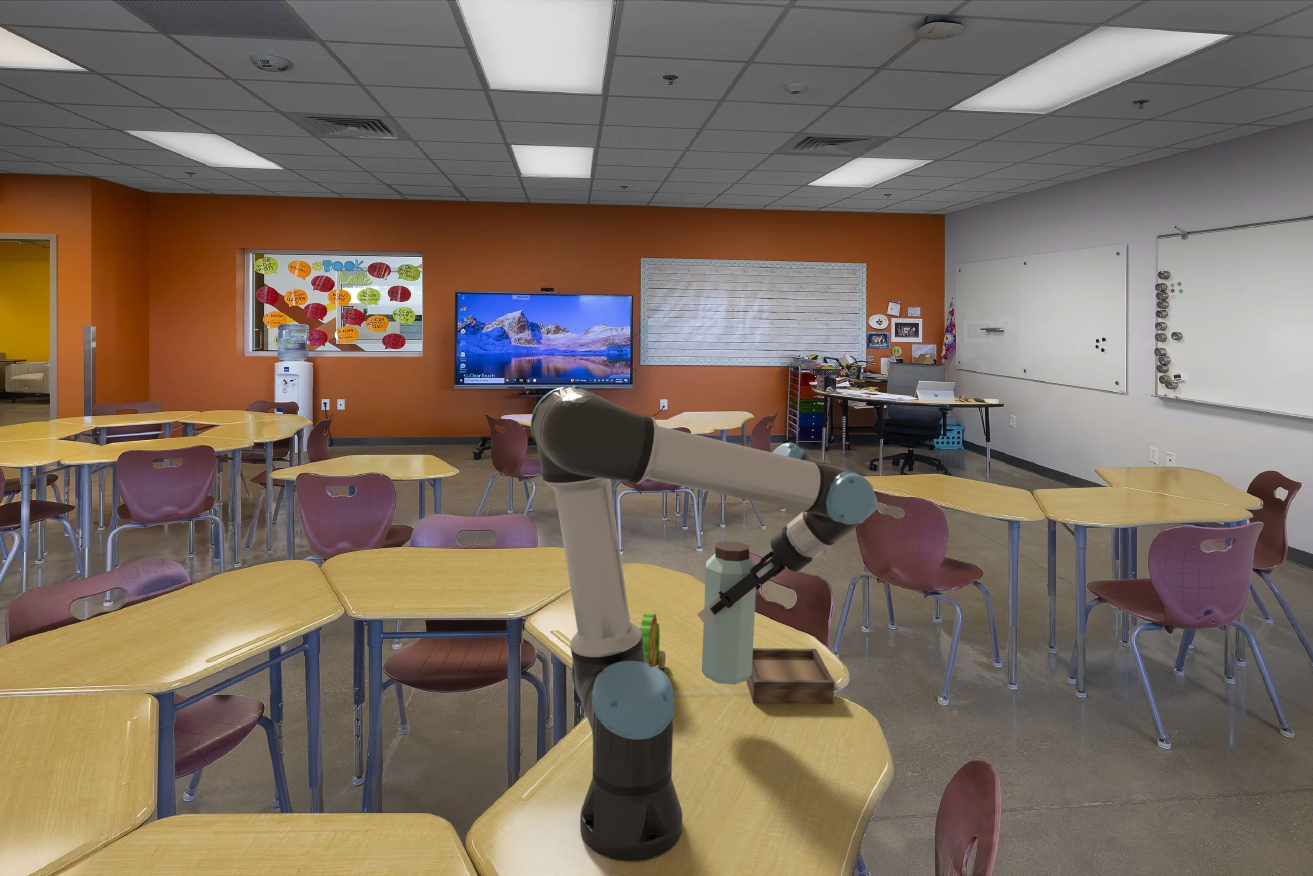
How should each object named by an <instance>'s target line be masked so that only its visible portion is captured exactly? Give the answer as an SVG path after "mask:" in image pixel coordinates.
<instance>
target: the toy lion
mask: <svg viewBox="0 0 1313 876" xmlns="http://www.w3.org/2000/svg"><path fill="white" fill-rule="evenodd" d="M639 628H640V630H641V633H642V639H643V646H644V653H645V659H646V663H647V664H650V667H657V666H658V667H657V668H658V669H662V668H664V669H665V665H666V659H667V657H666V656H667V655H666V651H665V650H660V636H661V634H660V625H659V623H658V618H657V614H656V613H655V612H644V613H643V616H642V619H641V622H640V627H639Z"/></svg>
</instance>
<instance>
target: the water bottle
mask: <svg viewBox="0 0 1313 876" xmlns="http://www.w3.org/2000/svg"><path fill="white" fill-rule="evenodd" d="M714 547H715V548H714V549H715V550H714V551H715V553H714V554H713V555H712V556H711V557H710V558H708V559H707V560H706V562H705V581H704V582H705V585H704V604H703V605H704V608H705V607H707V606H708V605H709V604H710V603H712V602H713V601H714V600H715V599H717V598H718V597H719V596H720V595H719V592H720V591H721V592H722V593H725V592H727V591H728V590H729V589H730V588H732V587H733V586H734V585H735V584H737V583H738V582H739V581H740V580H742V579H743V578H744V577H745V576H747V575H748V574H749V573H750V570H751V568H753V567H754V566H755V565H756V564H757V563H756V562H755V561H754V560H753V558H752V557H751V556H750V546H749V544H746V543H743V542H739V541H727V540H725V541H720V542H716V543H715V546H714ZM756 591H757V590H756V587H754V588H753V589H752V590H751V591H749V592H748V593H747V594H746V595H744V596H743V597H742V598H741V599H739V600H738V601H737V602H735V603H734V604H733V606H732V607H731V608H729V609H728V610H726V611H725V612H724V613H723V614H721V615H720V616H719V617H718V618H716V619H715V620H714V621H712V622H711V623H710V624H709V625H707V626H706V625H705V624H704V623H703V631H702V633H703V634H702V635H703V636H702V654H701V655H702V660H701V662H702V663H701V672H702V674H703V675H704V676H705V678H706V679H709V680H711V681H712V682H715V684H724V685H738V684H739V683H742V682H746V680H747V679H748V678H749V677H750V676H751V675H752V657H753V648H754V633H755V632H754V631H755V612H756V594H757V592H756ZM704 608H703V609H704Z"/></svg>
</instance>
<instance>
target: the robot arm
mask: <svg viewBox="0 0 1313 876" xmlns="http://www.w3.org/2000/svg"><path fill="white" fill-rule="evenodd" d="M531 415H532V416H531V419H530V420H531V421H530V431H531V436H532V438H533V439H534V442H535V444H536V447H537V452H538V459H539V463H540V465H539V466H540V470H541V475H542V480H543V483H544V484H545V485H547V486H548V487H550V488H552V489H553V491H554V494H555V495H554V496H555V500H556V506H557V512H558V517H559V525H560V532H561V537H562V543H563V549H564V555H565V561H566V567H567V568H566V569H567V573H568V579H569V587H570V592H571V599H572V604H573V611H574V612H573V613H574V617H575V623H576V629H577V631H576V633H575V635H573V637H572V638H571V640H570V643H569V645H570V652H571V658H572V659H571V660H572V663H571V678H572V679H571V680H572V683H573V687H574V689H575V691H576V693H577V696H578V697H579V700H580V702H581V705H582V708H583V710H584V712H585V715H586V718H587V722H588V723H589V726H590V729H591V735H592V779H591V781H590V783H589V786H588V790H587V792H586V795H585V798H584V801H583V803H582V805H581V806H582V807H581V809H580V816H579V818H580V822H579V826H580V827H579V828H580V829H579V830H580V835H581V837H582V839H583V841H584V842H585V844H586V845H587V846H588V847H589V848H590V849H591V850H593V851H594V852H595V853H597V854H600V855H601V856H604V857H606V858H610V859H614V860H618V861H627V862H629V861H630V862H631V861H632V862H634V861H644V860H649V859H652V858H655V857H659V856H661V855H663V854H665V853H666V852H668V851H670V850H671V849H672V848H673V847H674V846H675V845H676V844H678V843H677V842H678V841H679V840H680V838H681V835H682V833H683V809H682V807H681V804H680V800H679V797H678V794H677V791H676V788H675V785H674V782H673V778H672V776H673V775H672V773H673V772H672V769H673V767H672V766H673V737H674V736H673V735H674V733H673V732H674V714H675V708H676V707H675V705H676V704H675V697H674V688H673V685H672V681H671V680H670V678H669V677H668V675H667V674H666V673H665V672H664V671H663V670H662V669H661V668H658V667H657V666H655V667H650V664H647V663H646V659H645V653H644V646H643V639H642V633H641V630H640V627H639V626H637V625H636V624H634V623H633V622H631V618H630V617H631V616H630V609H629V604H628V597H627V590H626V588H627V587H626V581H625V577H624V576H625V575H624V570H623V563H622V555H621V549H620V542H619V536H618V528H617V521H616V515H615V508H614V501H613V494H612V488H611V480H612V481H617V482H618V481H619V482H624V483H629V484H630V483H631V484H634V485H639V484H641V483H643V482H644V481H645V480H646V479H647V480H651V481H657V482H661V483H665V484H669V485H670V484H671V485H676V486H680V487H683V488H684V487H686V488H689V489H695V490H700V491H705V492H709V493H714V494H715V493H716V494H718V495H719V494H720V495H724V496H729V497H734V498H738V499H743V500H748V501H754V502H757V503H758V502H759V503H762V504H768V505H773V506H779V507H781V508H786V509H787V508H788V509H791V510H796V511H801V512H800V513H799V514H798V515H796V516H795V517H794V518H793V519H791V521H789V522H788V523H787V525H786V526H784V527H783V528H782V529H780V530H779V531H778V532H776V533H775V534H774V535H773V536H772V537H771V538H770V548H771V551H769V552H768V553H767V554H765V555H764V556H763V557H762V558H761V559H760V560H759V562H758V563H755V564H756V565H755V566H754V567H753V568H751V570H750V573H749V574H748V575H747V576H745V577H744V578H743V579H742V580H740V581H739V582H738V583H737V584H735V585H734V586H733V587H732V588H730V589H729V590H728V591H727V592H725V593H722V592H721V591H720V592H719V595H720V596H719V597H718V598H717V599H715V600H714V601H713V602H712V603H710V604H709V605H708V606H707V607H705V608H702V610H701V611H699V612H698V613H696V614H697V616H698V617H699V619H700V620H701V622H702V623H703V625H704V624H705V625H706V626H707V625H709V624H710V623H711V622H712V621H714V620H715V619H716V618H718V617H719V616H720V615H721V614H723V613H724V612H725V611H726V610H728V609H729V608H731V607H732V606H733V604H734V603H735V602H737V601H738V600H739V599H741V598H742V597H743V596H744V595H746V594H747V593H748V592H749V591H751V590H752V589H753V588H754V587H756V591H758V590H759V589H760V588H761V587H762V585H764V584H765V583H767V582H768V581H769V580H770V579H772V578H774V577H776V576H778V575H779V574H781V573H782V572H783V571H784V570H785V569H787V570H790V571H792V572H799V571H801V570H802V569H803V568H805V567H806V566H807V565H808V564H810V563H812V561H813V559H815V558H817V557H818V556H819V555H821V554H822V553H824V554H826V555H827V554H829V553H830V551H831V550H830V547H831V546H832V545H834V544H835V543H836V542H838V541H839V540H841V539H842V538H844V537H846V535H848V534H849V533H850V532H851V531H853V530H855V529H856V528H857V527H858V526H860V525H862V524H863V523H864V522H865V521H866V520H867V519H868V518H869V517H871V515H873V513H874V512H875V511H876V510H877V509H878V506H879V501H878V499H877V496H876V494H875V490H874V487H873V485H872V483H871V482H870V481H869V480H868V479H867V478H866V477H863V476H861V475H860V474H858V473H857V472H856V471H851V470H846V469H844V468H841V467H838V466H836V465H833V464H831V463H828V462H826V461H823V460H820V459H818V458H814V457H812V456H811V455H809V454H808V453H807V452H806V450H805V449H803V448H801V447H799V446H798V445H797V444H795V443H793V442H785V443H783V444H780V445H779V446H778V447H776V448H775V449H774V450H773V451H772V452H770V451H766V450H762V449H759V448H758V449H757V448H753V447H749V446H745V445H741V444H737V443H732V442H728V441H724V440H719V439H715V438H710V437H706V436H703V435H698V434H694V433H690V432H685V431H681V430H678V429H672V428H669V427H664V426H659V425H658V423H657V421H656V420H655V418H654V417H653V416H648V415H646V414H645V415H644V414H641V413H637V412H634V411H631V410H629V409H626V408H624V407H621V406H620V405H617V404H615V403H613V402H611V401H609V400H607V399H605V398H604V397H602V396H601V395H598V394H596V393H595V392H593V391H591V390H590V389H588V388H585V387H583V386H577V385H573V386H561V387H557V388H555V389H553V390H550V391H548V392H547V393H546V394H545V395H544V396H543V397H541V398H540V400H538V402H537V404H536V405H535V408H534V409H533V411H532V414H531Z"/></svg>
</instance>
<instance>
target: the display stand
mask: <svg viewBox="0 0 1313 876" xmlns="http://www.w3.org/2000/svg"><path fill="white" fill-rule="evenodd" d="M745 682H746V685H747V687H748V690H749V695H750V698H751V700H752V703H753V704H796V705H797V704H803V705H804V704H808V705H809V704H812V705H814V704H816V705H818V704H819V705H820V704H821V705H822V704H823V705H824V704H825V705H828V704H829V705H831V704H832V705H833V704H834V699H835V698H834V697H835V696H834V695H835V694H834V693H835V680H834V679H833V677H832V675H831V673H830V671H829V670H828V668H827V666H826V664H825V663H824V660H823V658H822V657H821V655H820V653H819V652H818V650H817V648H781V647H779V648H778V647H777V648H769V647H767V648H766V647H765V648H763V647H758V648H756V647H755V648H754V647H753V657H752V675H751V676H750V677H749V678H748V679H747V680H745ZM833 696H834V697H833Z"/></svg>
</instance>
